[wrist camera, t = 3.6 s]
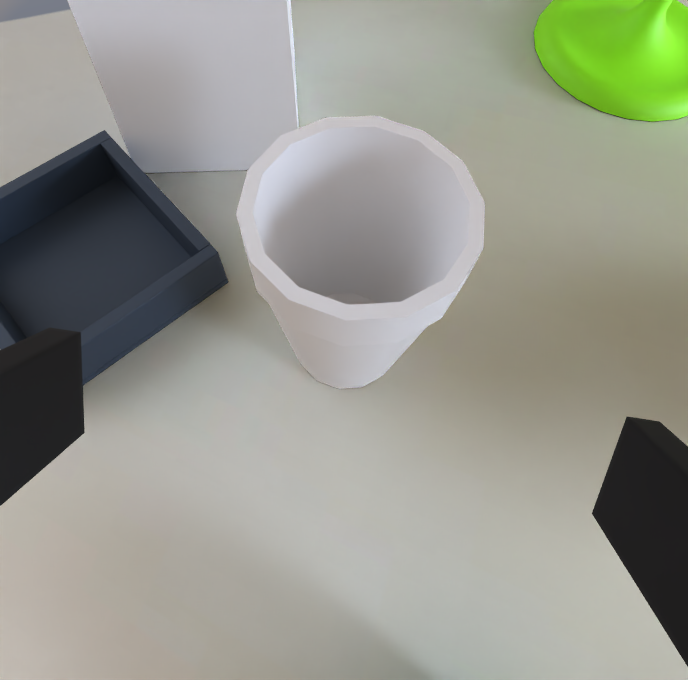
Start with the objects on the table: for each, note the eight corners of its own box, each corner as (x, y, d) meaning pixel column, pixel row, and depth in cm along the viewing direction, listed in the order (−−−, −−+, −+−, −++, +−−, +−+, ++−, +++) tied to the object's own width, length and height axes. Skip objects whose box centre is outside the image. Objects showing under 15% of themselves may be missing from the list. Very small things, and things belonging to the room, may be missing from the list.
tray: (228, 282, 32) (218, 252, 29) (58, 403, 28) (25, 384, 25) (124, 168, 35) (104, 129, 32) (-42, 264, 32) (-83, 232, 28)
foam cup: (451, 345, 31) (535, 218, 19) (344, 447, 28) (363, 374, 16) (346, 249, 33) (362, 81, 21) (238, 334, 31) (186, 197, 19)
